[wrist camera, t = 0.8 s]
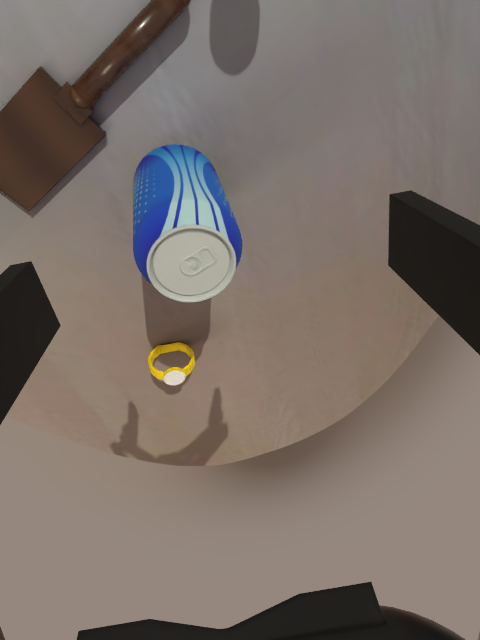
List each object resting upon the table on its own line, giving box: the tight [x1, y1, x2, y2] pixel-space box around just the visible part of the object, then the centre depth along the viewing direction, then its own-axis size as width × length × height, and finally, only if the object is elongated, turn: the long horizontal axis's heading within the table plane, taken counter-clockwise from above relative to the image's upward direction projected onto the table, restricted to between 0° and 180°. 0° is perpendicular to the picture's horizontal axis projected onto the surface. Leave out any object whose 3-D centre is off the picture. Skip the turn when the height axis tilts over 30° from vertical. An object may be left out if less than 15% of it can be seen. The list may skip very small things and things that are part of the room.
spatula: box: [0, 0, 191, 211], centre depth 35 cm, size 24×7×2 cm, turn 128°
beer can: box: [133, 144, 242, 302], centre depth 36 cm, size 8×8×16 cm
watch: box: [148, 342, 195, 385], centre depth 54 cm, size 6×3×6 cm, turn 90°
